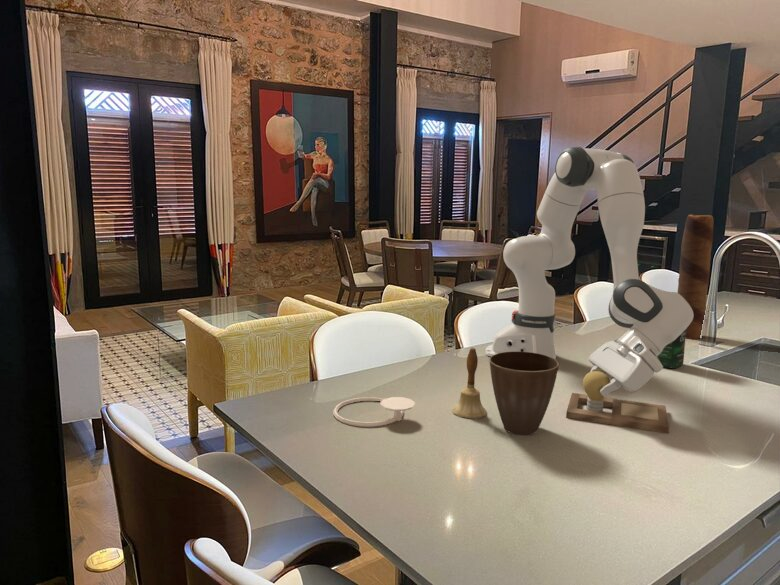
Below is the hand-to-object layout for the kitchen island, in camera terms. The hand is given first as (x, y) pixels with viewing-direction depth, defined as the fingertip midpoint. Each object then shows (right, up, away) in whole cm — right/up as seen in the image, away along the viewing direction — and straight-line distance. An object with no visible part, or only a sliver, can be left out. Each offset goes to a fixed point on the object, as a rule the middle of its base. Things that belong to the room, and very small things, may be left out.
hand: (593, 388), depth 140 cm
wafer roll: (+62, +7, +76) cm, 98 cm away
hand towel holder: (-53, -6, -3) cm, 53 cm away
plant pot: (-20, -8, -10) cm, 24 cm away
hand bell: (-30, -6, 0) cm, 31 cm away
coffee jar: (+37, +1, +40) cm, 54 cm away
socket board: (+5, -6, -1) cm, 8 cm away
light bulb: (+1, -6, +1) cm, 6 cm away
